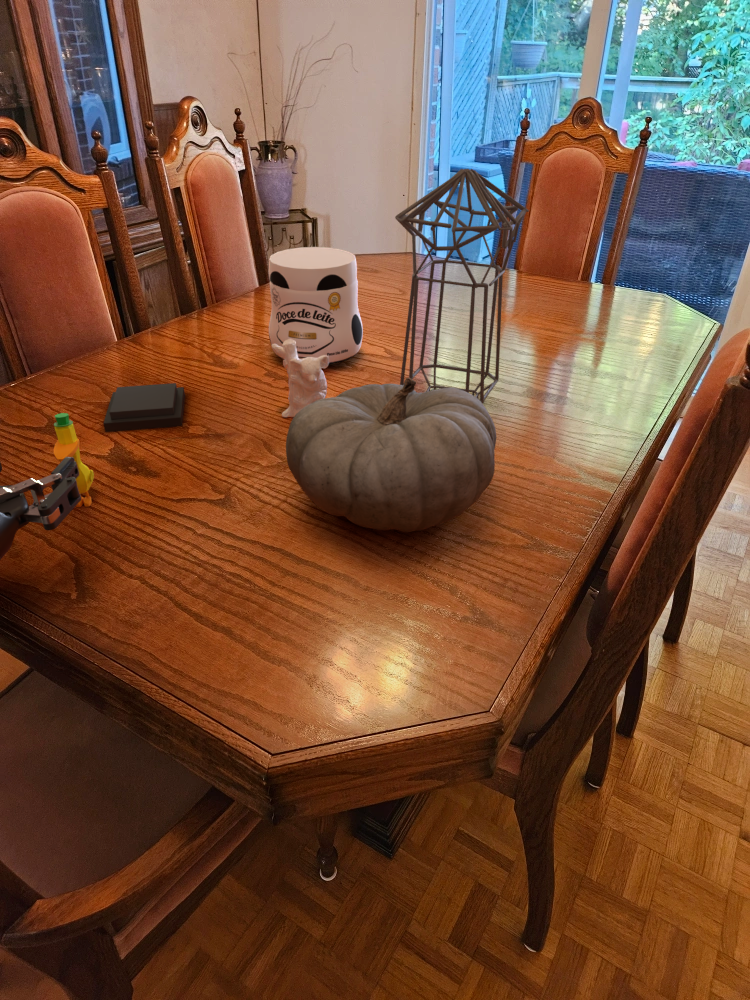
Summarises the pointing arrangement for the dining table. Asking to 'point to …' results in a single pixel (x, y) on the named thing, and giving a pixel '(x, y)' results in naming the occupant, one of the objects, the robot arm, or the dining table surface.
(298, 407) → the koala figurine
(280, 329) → the milk container
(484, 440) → the gourd
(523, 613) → the dining table surface
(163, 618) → the dining table surface
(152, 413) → the pad stack
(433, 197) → the geometric lantern
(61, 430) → the toy figure
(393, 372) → the dining table surface
